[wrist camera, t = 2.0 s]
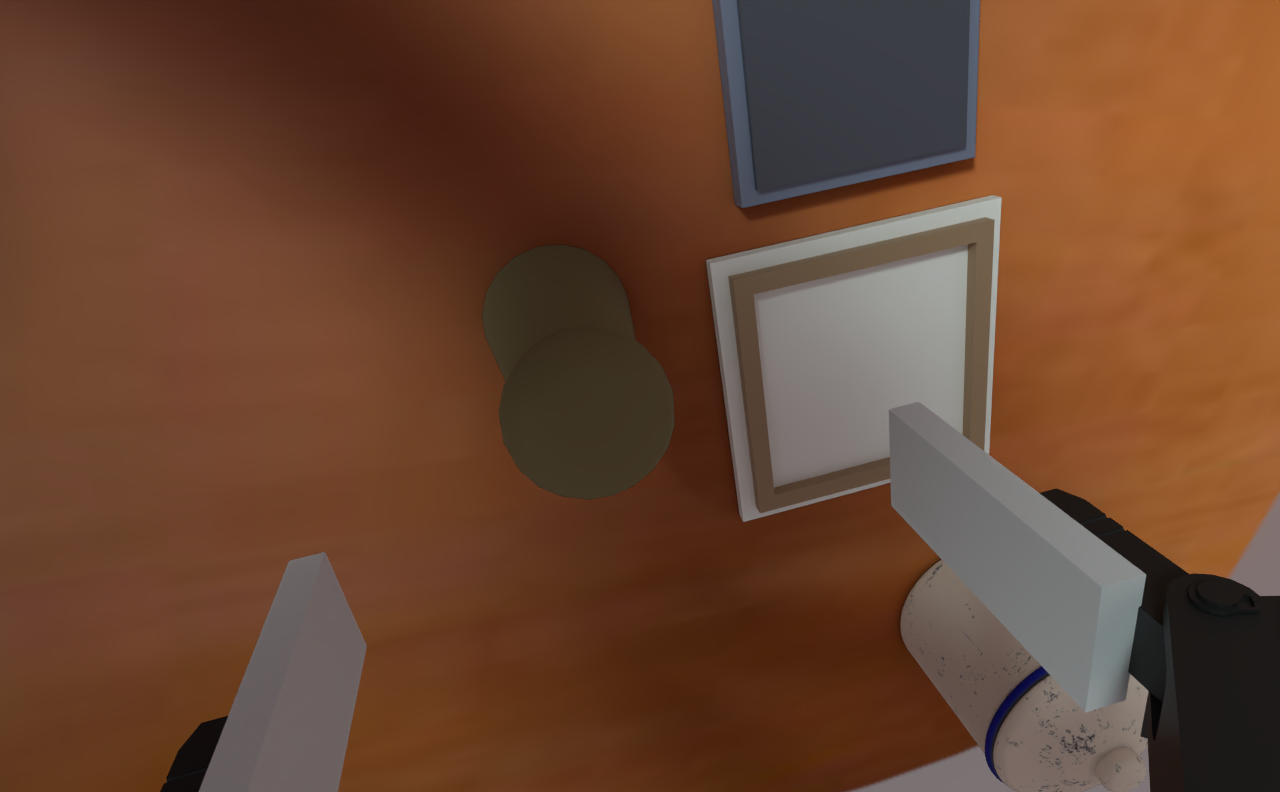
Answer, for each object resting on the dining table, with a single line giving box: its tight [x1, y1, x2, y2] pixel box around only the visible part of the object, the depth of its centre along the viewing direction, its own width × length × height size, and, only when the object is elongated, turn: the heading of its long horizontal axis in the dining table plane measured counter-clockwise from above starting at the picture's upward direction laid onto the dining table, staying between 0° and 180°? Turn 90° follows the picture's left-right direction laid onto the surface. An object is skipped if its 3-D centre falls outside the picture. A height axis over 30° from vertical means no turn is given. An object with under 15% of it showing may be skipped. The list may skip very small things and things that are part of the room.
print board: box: [706, 195, 1001, 522], centre depth 33 cm, size 13×13×1 cm
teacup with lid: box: [900, 559, 1148, 792], centre depth 37 cm, size 12×9×12 cm
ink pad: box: [712, 0, 980, 208], centre depth 28 cm, size 10×10×1 cm
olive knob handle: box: [482, 244, 675, 499], centre depth 25 cm, size 6×6×11 cm
